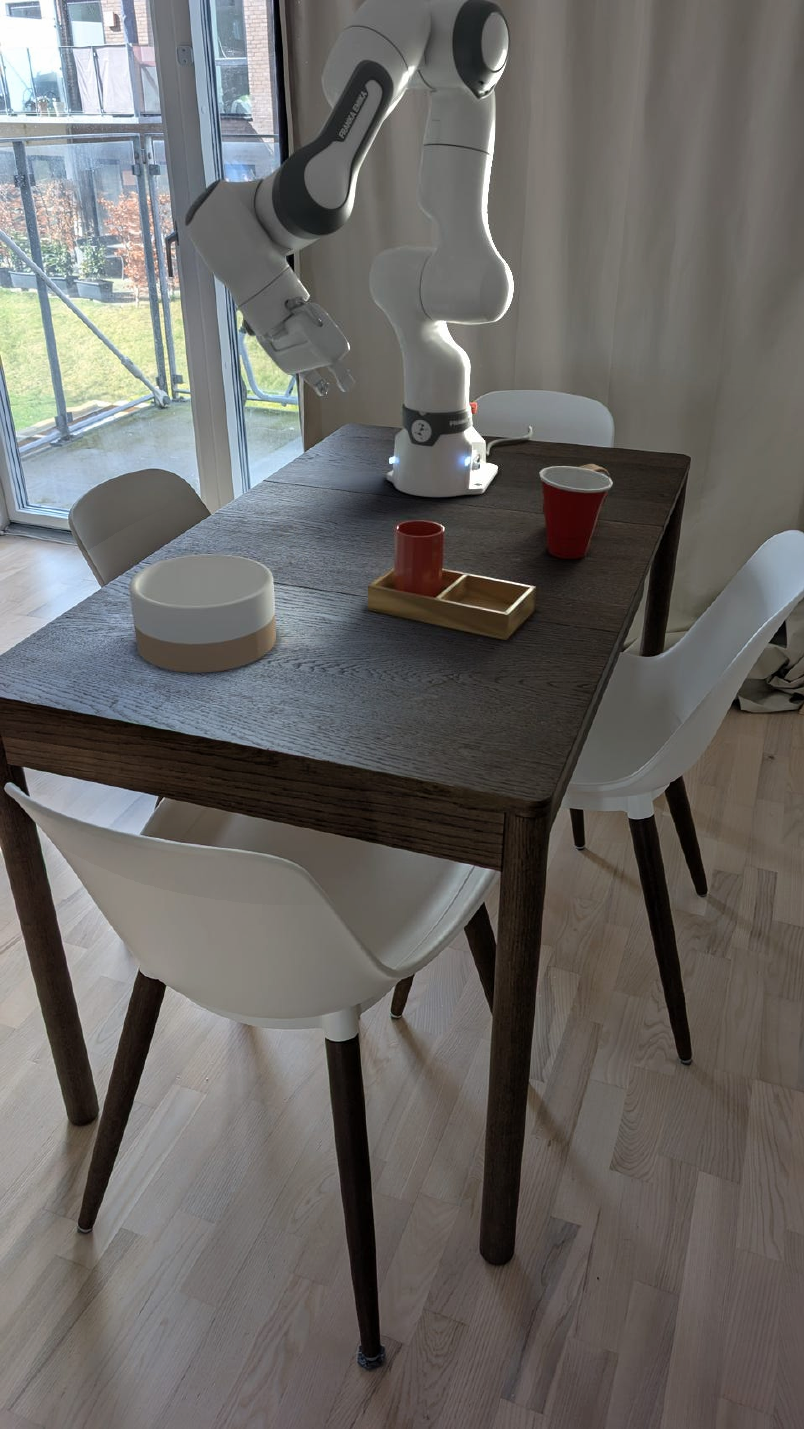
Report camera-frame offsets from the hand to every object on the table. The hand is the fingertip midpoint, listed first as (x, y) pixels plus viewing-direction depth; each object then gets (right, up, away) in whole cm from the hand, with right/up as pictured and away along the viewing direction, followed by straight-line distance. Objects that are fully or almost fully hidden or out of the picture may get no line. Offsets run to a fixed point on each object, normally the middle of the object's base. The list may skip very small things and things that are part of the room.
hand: (337, 391), depth 145 cm
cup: (+11, -30, -6) cm, 32 cm away
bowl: (-15, -37, -16) cm, 43 cm away
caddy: (+16, -32, -7) cm, 36 cm away
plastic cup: (+34, -21, +12) cm, 42 cm away
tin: (+38, -13, +25) cm, 47 cm away
